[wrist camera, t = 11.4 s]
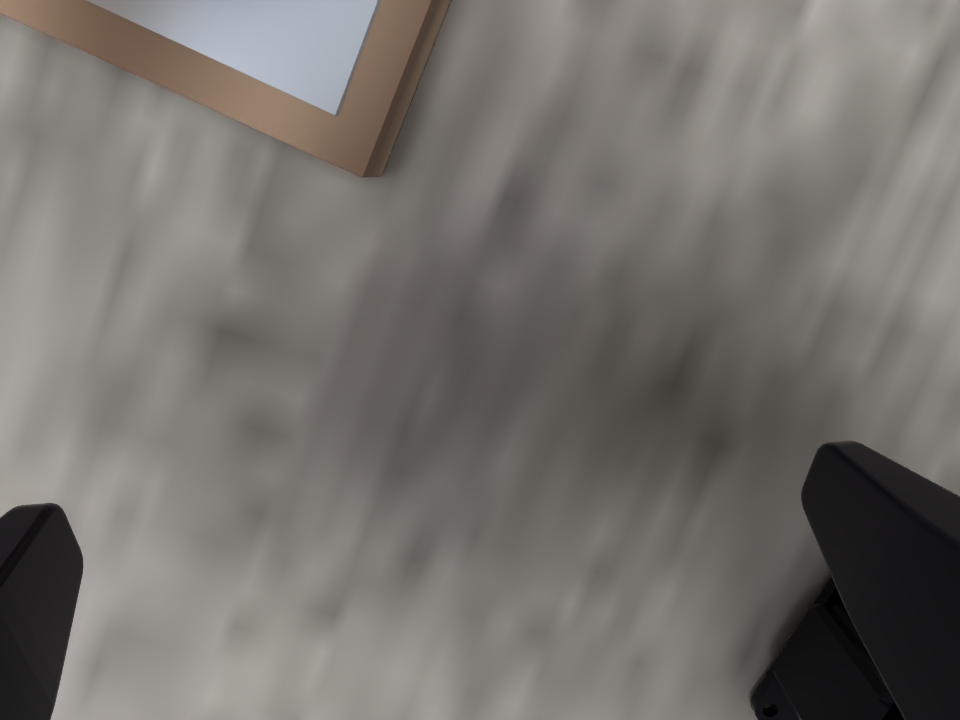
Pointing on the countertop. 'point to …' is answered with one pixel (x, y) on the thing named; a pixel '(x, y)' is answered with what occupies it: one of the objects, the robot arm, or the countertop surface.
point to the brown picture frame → (267, 61)
